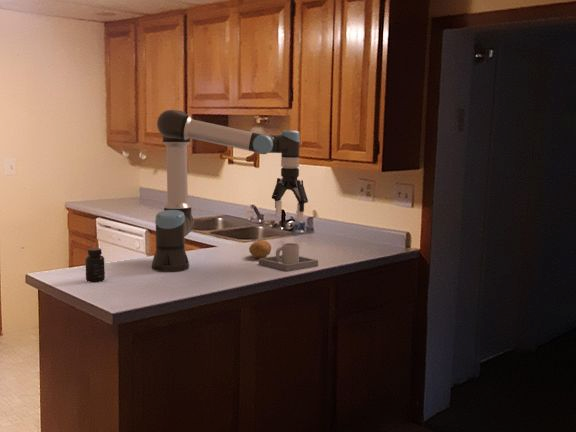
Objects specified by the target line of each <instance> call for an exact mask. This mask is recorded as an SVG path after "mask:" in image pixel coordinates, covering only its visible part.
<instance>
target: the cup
mask: <svg viewBox="0 0 576 432" xmlns="http://www.w3.org/2000/svg"><path fill="white" fill-rule="evenodd" d="M281 245H282V246H280V247H278V248H277V249H276V250H275V256H276V259H277V260H278V261H279V263H283V264H293V263H300V262H299V256H300V244H299V243H294V242H292V243H291V242H287V243H286V242H285V243H282V244H281ZM281 252H282V253H281ZM280 253H281V255H282V259H281V258H280V256H279V255H280Z"/></svg>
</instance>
